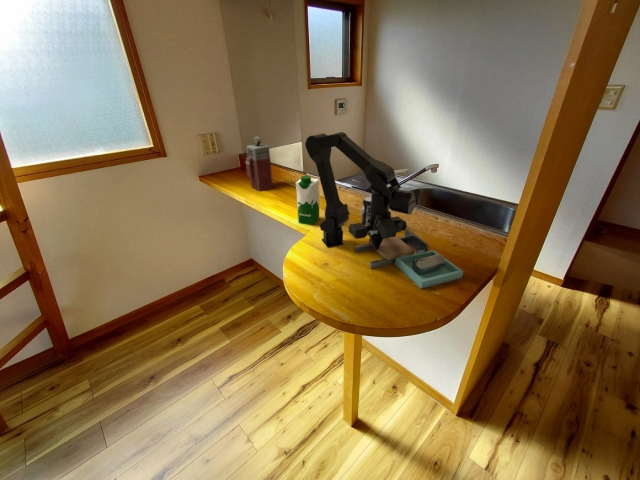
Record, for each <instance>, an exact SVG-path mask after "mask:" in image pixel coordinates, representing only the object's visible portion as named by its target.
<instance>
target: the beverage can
mask: <svg viewBox="0 0 640 480" xmlns="http://www.w3.org/2000/svg"><path fill="white" fill-rule="evenodd" d="M370 207H371V195H368V196H364V197H363V200H362V209H361V222H360V223H361V224H362V225H363V226H367V225H369V223H368V219H370V212H369V211H368V208H370Z"/></svg>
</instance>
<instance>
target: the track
mask: <svg viewBox="0 0 640 480" xmlns="http://www.w3.org/2000/svg"><path fill="white" fill-rule="evenodd" d="M397 237H398V236H397ZM398 238H399V239H400V240H402V241H403V242H404V243H405V244H407V245H408V246H409V247H410V248H412V249H413V250H414V254H416V253H421V252H425V251H429V245H430V244H429V243H428V242H427V241H425V240H424V239H423V238H421V237H420V236H418V235H417V234H415V232H413V231H411V230H410V229H409V228H406V230H404V236H399V237H398ZM371 250H375V249H374V248H373V246H372V245H371V244H370V243H369V242H368V243H364V244H360V245H359V244H358V245H355V246H354V252H355V253H356V254H357V253H361V252H367V251H371ZM391 265H395V259H391V260H387V259H386V258H380V259H377V260H373V261H370V262H369V268H370V269H371V270H373V269H377V268H381V267H386V266H391Z"/></svg>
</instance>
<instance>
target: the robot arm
mask: <svg viewBox="0 0 640 480" xmlns="http://www.w3.org/2000/svg"><path fill="white" fill-rule="evenodd" d="M304 146H305V148H306V152H307V155H308V156H309V158H310V159H311V160H312V162H314V163H315V166H316V170H317V173H318V177H319V178H318V179H319V183H320V185H321V189H322V192H323V197H324V200H325V204H326V205H325V209H324V217H325V219H324V221H323V222H321V223H320V224H319V228H320V231H323V232H322V233H323V234H322V235H323V238H322V239H321V241H322V243H323V244H324V245H325V247H327V248H332V247H337V246H342V245H344V242H343V241H344V231H343V228H342V227H343V226H344V225H345V223H347V222H348V221H349V219H350V211H349V209H348V204H347V203H343V202H342V201H341V199H340V195H339V192H338V188H337V183H336V179H335V176H334V172H333V168H332V163H331V156H332V148H333V147H335V148H336V149H337V150H339V151H340V152H341V153H342V154H343V155H345V157H346V158H347V159H349V160H350V161H351V162H352V163H353V164H354V165H356V166H357V167H358V168H359V169H360V170H361V171H362V172H363V174H364V178H365V180H367V182H369V184H370V185H369V186H368V188H366V189H364V190H365V193H370V194H371V195H370V196H371V207H370V208H368V211H369V212H370V219H368V223H369V225H367V226H363V225H362V224H361V223H362V222H357V223H356V222H355V223H351V224H350V225H349V226H348V233H349V234H350V235H351V236H352V237H353V238H355V239H357V240H359V239H364V238H366V237H367V236H368V237H369V238H370V239H371V242H372V244H373V247H374V249H373V250H375V251H376V250H378V248H379V246H380V244H381V242H382V241H383V239H384V238H389V237H395V236H396V237H397V233H401V232H403V231H405V230H406V229H408V228H407V226H408V224H407V222H406V220H404V219H403V218H401V217H399V216H392V212H397V213H401V214H404V215H412V213H413V211H414V209H415V207H416V203H417V202H416V201H417V200H416V196H415V191H413V190H404V189H401V188H402V187H401V184H400V183H399V180H397V177H396V175H395V173H396V171H395V169H394V168H393V167H392V166H390V165H389V164H387V163H385V162H383V161H381V160H378V159H376V158H374V157H372V156H371V155H370V154H368V152H367V151H365V150H364V149H363V148H362V147H361V146H360V145H358V143H356V142H354V141H353V140H352V139H351V138H350V137H349V136H348V135H347V133H345V132H343V131H340V132H336V133H335V132H334V133H333V134H329V135H328V134H326V133H322V132H321V133H318V134H312V135H309V136H307V138H306V140H305V145H304ZM388 185H390V186H388Z"/></svg>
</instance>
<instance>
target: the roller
mask: <svg viewBox="0 0 640 480" xmlns="http://www.w3.org/2000/svg"><path fill="white" fill-rule="evenodd" d="M443 257H444V256H443V255H442V254H441V253H439V254H437V255H433V256H429V257H425V258H420V259H416V260H413V262H412V268H413V270H414V272H415V273H416V274H420V273H424V272H428V271H432V270H436V269H440V268H443V267H444V266H445V260H444V258H445V257H444V258H443Z"/></svg>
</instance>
